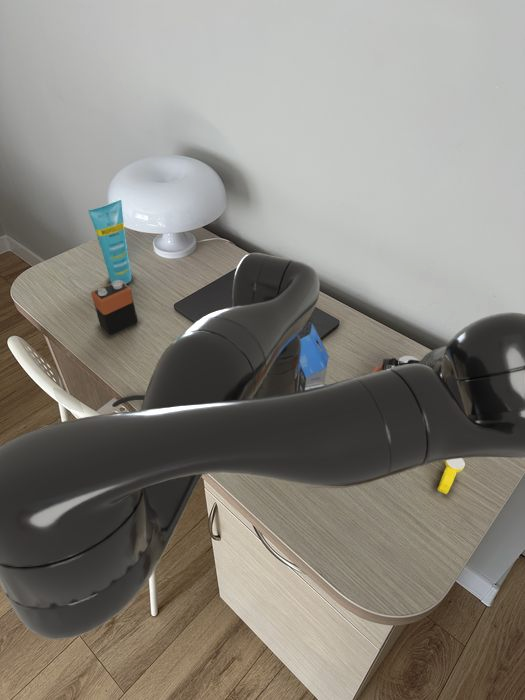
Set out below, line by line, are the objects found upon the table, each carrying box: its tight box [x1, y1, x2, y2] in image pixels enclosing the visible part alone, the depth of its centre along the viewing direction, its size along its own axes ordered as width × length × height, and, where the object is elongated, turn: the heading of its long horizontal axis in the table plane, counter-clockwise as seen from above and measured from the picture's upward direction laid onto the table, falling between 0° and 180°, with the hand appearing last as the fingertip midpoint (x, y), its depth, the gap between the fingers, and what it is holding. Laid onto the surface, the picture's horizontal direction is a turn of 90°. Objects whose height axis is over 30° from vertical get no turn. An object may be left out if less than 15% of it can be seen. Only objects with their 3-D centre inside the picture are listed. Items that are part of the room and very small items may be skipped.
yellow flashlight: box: [437, 458, 466, 495], centre depth 75 cm, size 6×3×6 cm, turn 149°
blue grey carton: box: [297, 323, 330, 392], centre depth 87 cm, size 9×4×12 cm, turn 14°
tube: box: [87, 199, 132, 285], centre depth 109 cm, size 7×5×19 cm, turn 134°
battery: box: [91, 280, 138, 336], centre depth 100 cm, size 4×7×10 cm, turn 131°
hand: (430, 376), depth 68 cm, fingers open, 8 cm apart
